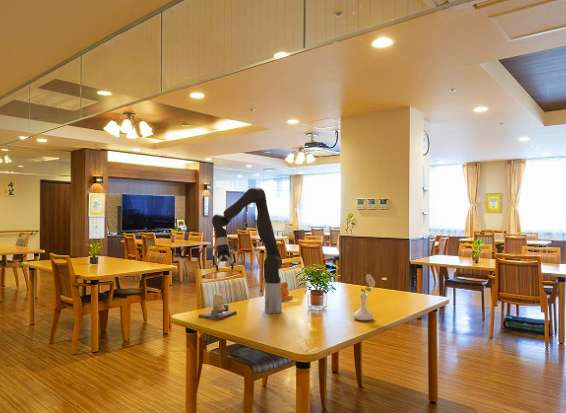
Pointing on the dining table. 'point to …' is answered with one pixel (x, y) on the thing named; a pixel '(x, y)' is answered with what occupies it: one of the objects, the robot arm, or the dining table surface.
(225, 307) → the drive shaft
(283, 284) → the bracket
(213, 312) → the driven shaft
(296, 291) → the dining table surface
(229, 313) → the coupling base
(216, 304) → the coupler
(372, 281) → the flower in vase
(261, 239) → the robot arm
